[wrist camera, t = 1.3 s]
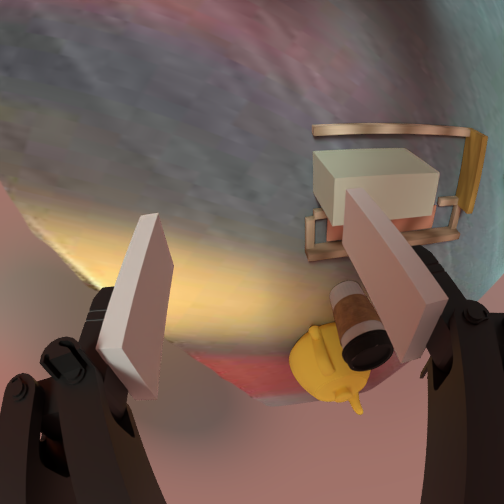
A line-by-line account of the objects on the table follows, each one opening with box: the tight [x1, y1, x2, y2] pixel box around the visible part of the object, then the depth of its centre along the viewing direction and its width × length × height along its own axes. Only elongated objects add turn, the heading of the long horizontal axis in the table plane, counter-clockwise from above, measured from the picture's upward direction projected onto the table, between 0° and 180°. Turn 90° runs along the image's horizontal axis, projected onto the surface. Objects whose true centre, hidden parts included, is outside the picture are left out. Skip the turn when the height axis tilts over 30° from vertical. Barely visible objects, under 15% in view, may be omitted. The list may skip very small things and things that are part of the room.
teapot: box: [289, 322, 371, 415], centre depth 59 cm, size 25×18×14 cm
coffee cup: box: [330, 281, 393, 372], centre depth 49 cm, size 8×8×15 cm
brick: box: [313, 148, 440, 226], centre depth 37 cm, size 14×6×9 cm, turn 95°
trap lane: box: [305, 123, 488, 261], centre depth 41 cm, size 28×20×4 cm
